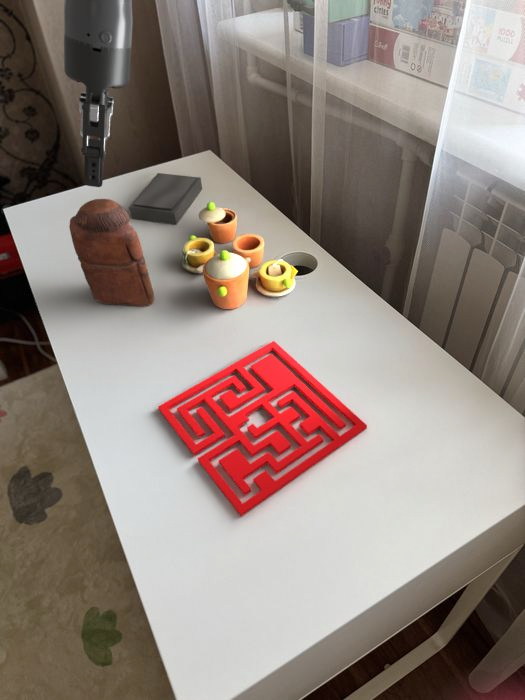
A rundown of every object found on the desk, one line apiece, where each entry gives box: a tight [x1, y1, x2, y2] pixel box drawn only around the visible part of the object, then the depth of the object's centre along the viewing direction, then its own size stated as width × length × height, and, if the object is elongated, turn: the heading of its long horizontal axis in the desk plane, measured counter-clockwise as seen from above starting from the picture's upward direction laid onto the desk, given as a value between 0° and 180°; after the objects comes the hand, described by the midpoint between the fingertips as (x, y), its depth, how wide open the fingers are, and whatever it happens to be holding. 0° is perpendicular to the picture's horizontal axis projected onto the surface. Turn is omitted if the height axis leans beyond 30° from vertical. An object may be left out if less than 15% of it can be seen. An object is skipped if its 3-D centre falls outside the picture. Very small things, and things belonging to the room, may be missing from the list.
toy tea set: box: [181, 201, 299, 310], centre depth 92 cm, size 26×16×10 cm, turn 31°
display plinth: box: [128, 172, 203, 226], centre depth 110 cm, size 10×14×3 cm
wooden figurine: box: [68, 198, 155, 307], centre depth 85 cm, size 12×6×18 cm, turn 81°
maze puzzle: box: [157, 340, 368, 518], centre depth 72 cm, size 20×20×1 cm
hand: (95, 173), depth 71 cm, fingers open, 8 cm apart
